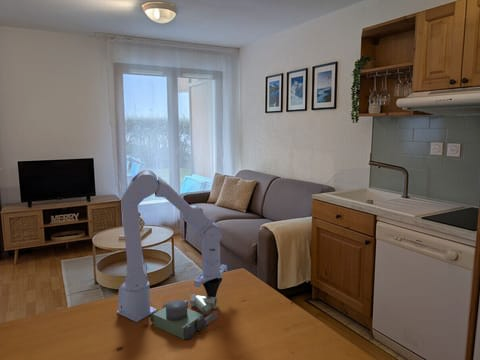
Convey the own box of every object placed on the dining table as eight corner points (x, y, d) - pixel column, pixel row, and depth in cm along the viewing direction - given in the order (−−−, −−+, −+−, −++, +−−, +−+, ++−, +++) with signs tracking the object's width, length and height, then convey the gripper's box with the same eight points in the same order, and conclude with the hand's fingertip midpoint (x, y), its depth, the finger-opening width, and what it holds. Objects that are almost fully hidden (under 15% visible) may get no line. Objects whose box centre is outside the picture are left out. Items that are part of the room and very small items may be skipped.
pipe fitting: (211, 318, 108) (217, 305, 114) (210, 306, 107) (216, 294, 113) (186, 314, 109) (193, 302, 116) (185, 303, 108) (193, 291, 115)
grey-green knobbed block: (150, 324, 103) (149, 303, 102) (184, 303, 115) (183, 285, 114) (186, 341, 95) (186, 319, 94) (219, 317, 107) (218, 297, 106)
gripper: (206, 270, 105) (206, 312, 107) (234, 255, 117) (234, 293, 119) (188, 264, 109) (189, 305, 111) (217, 250, 121) (217, 288, 123)
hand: (211, 299), depth 115 cm, fingers closed
